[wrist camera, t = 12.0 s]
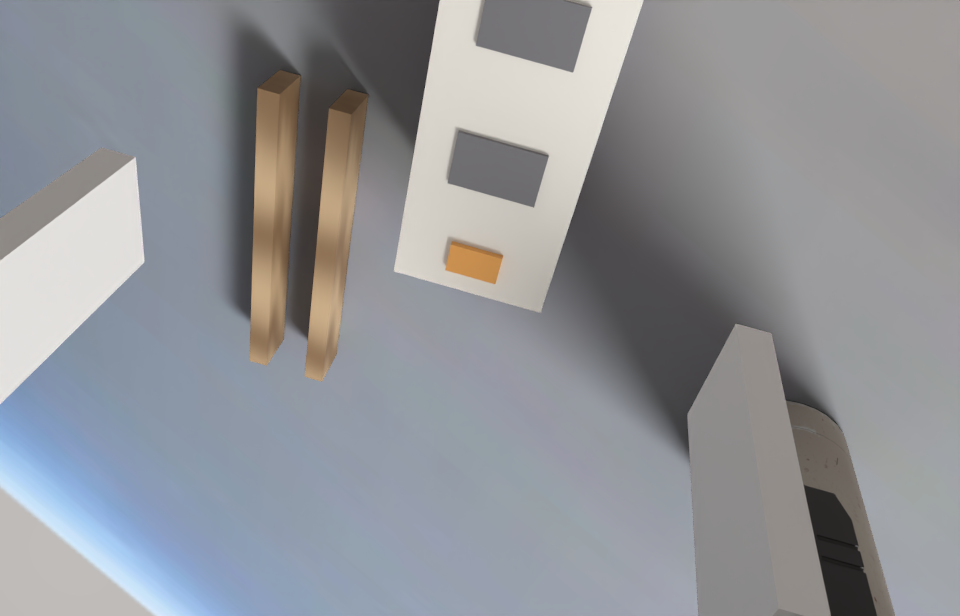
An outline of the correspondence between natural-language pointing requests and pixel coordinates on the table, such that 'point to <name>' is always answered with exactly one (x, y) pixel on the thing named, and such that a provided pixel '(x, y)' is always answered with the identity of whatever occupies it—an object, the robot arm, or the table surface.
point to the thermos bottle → (837, 486)
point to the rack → (276, 215)
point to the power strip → (508, 140)
